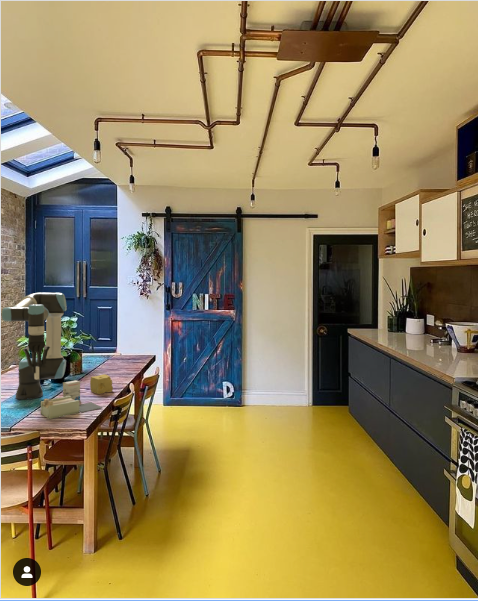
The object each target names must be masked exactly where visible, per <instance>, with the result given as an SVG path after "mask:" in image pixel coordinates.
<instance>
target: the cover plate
mask: <svg viewBox="0 0 478 601" xmlns="http://www.w3.org/2000/svg"><path fill="white" fill-rule="evenodd" d="M43 401H44V403H43V406H45V407H46V408H48V406H51V405H56V404H61V403H66V402H71V401H75V400H73V399H71V398H68V399H63V400H58V401H51V399H49V398H44V399H43Z"/></svg>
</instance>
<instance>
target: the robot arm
mask: <svg viewBox="0 0 478 601" xmlns="http://www.w3.org/2000/svg"><path fill="white" fill-rule="evenodd" d="M67 309H68V308H67V300H66V296H65V294H64V293H62V292H35V293H30V294H27V295H26V296H23V297H22V298H21V300H20V301H19V302H18V303H16V304H14V306H8V307H3V308H2V310H1V318H2V321H3V322H27V324H28V332H27V333H28V340H27V341H28V343H27V346H26V347H24V348H22V351H23V353H24V354H25V358H26V359H24V360H20V362H19V363H18V386H17V390H16V392H15V399H17V400H22V401H23V400H24V401H25V400H33V399H39V398H40V397H42V396H43V395H44V392H43V388H42V385H41V383H40V382H41V381H40V380H49V379H50V380H51V379H53V380H56V379H63V377H64V375H65V372H66V367H67V360H66V359H64V356H63V354H61V353H62V352H61V351H62V343H61V342H62V317H63V315H64V314H65V312H66V311H67ZM45 322H46V324H45ZM45 326H46V327H45ZM45 328H46V330H45ZM44 333H45V334H44ZM42 350H43V353H42ZM30 351H31V354H30Z"/></svg>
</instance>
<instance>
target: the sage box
mask: <svg viewBox="0 0 478 601" xmlns="http://www.w3.org/2000/svg"><path fill="white" fill-rule="evenodd" d="M68 398H71V396H67V397H63V396H62V397H57V398H52V399H50V400H51V401H58V400H63V399H68ZM43 403H44V400H43V401H40V414H41V415H42V416H44V417H45V418H47V419H49V420H52V419H56V418H61V417H66V416H70V415H71V416H72V415H74V414H75V415H76V414H79V413H80V411H79V404H80V400H76V401H71V402H66V403H61V404H56V405H51V406H48V408H46V407H45V406H43Z"/></svg>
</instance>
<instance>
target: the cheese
mask: <svg viewBox="0 0 478 601" xmlns="http://www.w3.org/2000/svg"><path fill="white" fill-rule="evenodd" d="M89 384H90V385H89V386H90V391H91V392H92V393H95V394H97V395H101V394H104V393H112V392H113V389H114V387H113V380H112V378H111V376H110V375H108V374H100V375H96V376H91V377H90V382H89Z"/></svg>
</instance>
